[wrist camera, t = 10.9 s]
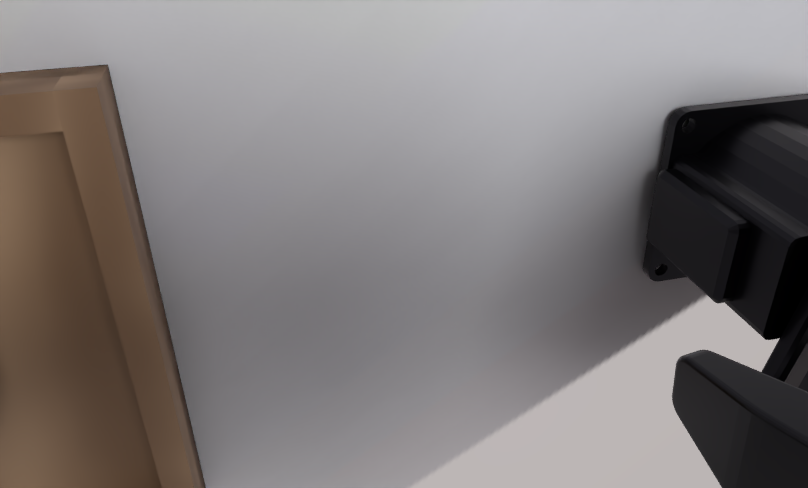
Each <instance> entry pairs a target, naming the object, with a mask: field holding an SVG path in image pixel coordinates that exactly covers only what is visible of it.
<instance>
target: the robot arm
mask: <svg viewBox="0 0 808 488" xmlns="http://www.w3.org/2000/svg"><path fill="white" fill-rule="evenodd" d="M687 119H689V123H688V125H687V126H686V127H685V128H682V125H683V123H684V122H685V121H686V120H687ZM647 240H648V241H647V246H646V252H645V257H644V263H643V271H644V272H645V274H646V275H647V276H648V277H649V278H650V279H651V280H653V281H664V280H670V279H677V278H683V277H688V278H689V279H690V280H691V281H693V282H694V283H695V284H696V285H697V286H698V287H699V288H700V289H701V290H702V291H703V292H704V293H706V294H707V295H708V296H709V297H710V298H711V299H712V300H713V301H714V302H716V303H723V302H725V303H726V304H727V305H728V306H729V307H730V308H731V309H732V310H734V311H735V312H736V313H737V314H738V315H739V316H740V317H741V318H742V319H744V320H745V321H746V322H747V323H748V324H749V325H750V326H751V327H752V328H753V329H755V330H756V331H757V332H758V333H759V334H760V335H761V336H762V337H763V338H765V339H766V340H771V339H777V338H780V339H779V341H778V343H777V345H776V346H775V348H774V350H773V352H772V354H771V356H770V358H769V359H768V361H767V363H766V365H765V367H764V369H763V370H762V372H759V371H757V370H754V369H752V368H750V367H747V366H745V365H742V364H740V363H738V362H735V361H733V360H730V359H728V358H726V357H723V356H721V355H719V354H716V353H714V352H711V351H708V350H700V351H696V352H693V353H690V354H687V355H684V356H681V357H680V358H679V359H678V361H677V363H676V370H675V378H674V386H673V393H672V398H673V399H672V400H673V405H674V408H675V410H676V413H677V415H678V416H679V418H680V420H681V421H682V423H683V424H684V426H685V428H686V429H687V431H688V433H689V434H690V436H691V438H692V439H693V441H694V442H695V444H696V446H697V447H698V449H699V450H700V452H701V454H702V455H703V457H704V459H705V460H706V462H707V464H708V465H709V467H710V468H711V470H712V472H713V473H714V475H715V477H716V478H717V480H718V482H719V483H720V485H721V487H722V488H808V94H805V95H796V96H786V97H776V98H767V99H757V100H748V101H738V102H728V103H719V104H709V105H699V106H690V107H683V108H680V109H678V110H677V111H676V112H674V113H673V115H672V116H671V117H670V120H669V123H668V129H667V134H666V140H665V145H664V151H663V157H662V162H661V168H660V173H659V175H658V177H657V181H656V187H655V192H654V198H653V204H652V209H651V215H650V221H649V226H648V232H647ZM660 264H661V266H660V267H659V268H658V269H656V267H657V266H658V265H660ZM655 269H656V270H655Z"/></svg>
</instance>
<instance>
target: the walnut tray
mask: <svg viewBox="0 0 808 488" xmlns="http://www.w3.org/2000/svg"><path fill="white" fill-rule="evenodd" d="M0 488H206V487H205V483H204V478H203V474H202V470H201V465H200V461H199V457H198V453H197V448H196V444H195V440H194V435H193V431H192V427H191V422H190V418H189V414H188V409H187V405H186V401H185V396H184V392H183V388H182V383H181V379H180V375H179V371H178V366H177V362H176V358H175V353H174V349H173V345H172V340H171V336H170V332H169V327H168V323H167V319H166V314H165V310H164V306H163V301H162V297H161V293H160V289H159V284H158V280H157V276H156V271H155V267H154V263H153V258H152V254H151V250H150V245H149V241H148V237H147V232H146V228H145V224H144V220H143V215H142V211H141V207H140V202H139V198H138V194H137V189H136V185H135V181H134V176H133V172H132V168H131V163H130V159H129V155H128V150H127V146H126V142H125V138H124V133H123V129H122V125H121V120H120V116H119V112H118V107H117V103H116V99H115V94H114V90H113V86H112V81H111V77H110V73H109V69H108V65H98V66H85V67H72V68H59V69H46V70H34V71H21V72H8V73H0Z"/></svg>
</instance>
